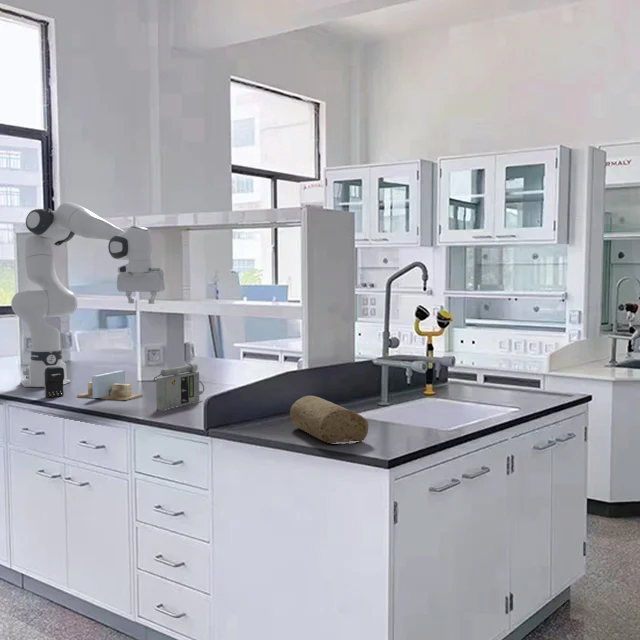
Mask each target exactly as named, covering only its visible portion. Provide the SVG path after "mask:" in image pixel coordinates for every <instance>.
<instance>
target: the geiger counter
mask: <svg viewBox="0 0 640 640" xmlns="http://www.w3.org/2000/svg"><path fill="white" fill-rule="evenodd" d="M198 369H199V366H198V364H197V363H194V362H193V363H188V364H187V365H182V366H181V365H180V366H177V367H171V368H164V369H161V371H160V373H159V374H158V375H156V376H154V378H153V382H155V384H156V385H155V386H156V388H155V389H156V410H157V409H158V410H157V411H160V410H164V411H166V410H165V409H168V408H172V407H176V406H180V407H183V406H182V405H184V406H187V405H186V404H188V405H191V404H190V403H192V404H196V403H199V402H200V395H202V394H204V391H205V386H204V384H203V382H202V381H200V372H199V371H198ZM200 385H201V386H202V390H200ZM198 401H199V402H198ZM195 402H196V403H195ZM176 408H177V407H176ZM172 409H173V408H172ZM168 410H169V409H168Z"/></svg>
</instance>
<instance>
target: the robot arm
mask: <svg viewBox="0 0 640 640" xmlns="http://www.w3.org/2000/svg"><path fill="white" fill-rule="evenodd" d="M25 226H26V229H27V230H28V231H29V232H30V233H32V234H29V235H28V236H27V237H26V239H25V241H24V243H25V244H24V260H25V268H26V276H27V278H28V280H29V281H30V282H31V283H33V284H35V285H38V286H39V287H40V288H41V290H39V289H38V290H24V291H19V292H16V293H15V294H14V295H13V297H12V299H11V302H10V303H11V309H12V312H13V313H14V314H15V315H16V316H17V317H19V318H20V319H21V320H22V321H23V322H25V324H26V326H27V327H28V329H29V332H30V338H31V340H30V341H31V352H30V361H29V364H28V365H27V366H26V368H25V369H23V370H22V374H23V376H25V379H24V378H23V379H21V380H20V383H21V385H22V386H23V387H24V388H28V387H29V388H32V387H33V388H34V387H35V388H45V387H44V369H45V368H46V367H50V366H60V367H62V368H63V369H64V380H63V386H64V385H65V384H69V383H71V379H68V377H67V363H65V362H64V361H63V360H62V359H63V352H62V349H61V332H60V330H59V329H58V328H57V327H55V326H53V325H50V324H49V323H47V322H46V318H51V317H52V318H53V317H55V318H56V317H65V316H66V317H67V316H69V315H73V314H74V313H75V311H76V310H77V308H78V304H79V303H78V298H77V296H76V294H74V292H73V291H71V290H69V289H68V288H67V287H65V286H64V285H63V284H62V282H61V280H60V279H59V276H58V275H57V270H56V267H55V260H54V254H53V246H54V245H55V246H56V247H57V246H61V245H62V244H65V243H66V242H67V243H68V242H69V241H71V240H72V239H73V237H74V236H75V235H77V236H79V237H82V238H85V239H93V240H94V239H95V240H96V239H97V240H107V241H109V242H108V246H107V247H108V253H109V255H110V256H111V257H112V258H113V259H115V260H119V261H120V260H121V261H122V260H123V261H128V263H126V264H124V265H120V266H118V267H117V272H118V274H117V276H116V277H117V278H116V289H117V290H118V292H123V293H124V292H125V297H126V299H127V300H128V301H127V302H128V304H134V303H135V298H133V297H132V294H133V292H134V293H139V292H140V293H150V295H151V296H150V298H148V300H147V301H148V304H149V305H154V304H155V299H156V297H157V293H162V292H164V291H165V289H166V285H165V284H166V283H165V278H164V277H165V276H164V275H165V274H164V271H163V269H161V268H160V267H157V268H156V267H153V259H152V258H153V257H152V250H153V249H152V247H153V243H152V235H151V231H150V228H148V227H145V226H138V225H132V226H129V228H128V229H127V230H124V229H123V228H121V227H118V226H117V225H115V224H113V223H111V222H109V221H108V220H105V219H104V218H102V217H100V216H99V215H97V214H96V213H94V212H93V211H90V210H89V209H88V208H86V207H84V206H82V205H79V204H77V203H76V202H75V203H74V202H71V201H65V202H63V203H61V204H59V206H58V207H57V208H56V210H52V209H51V208H49V207H48V208H36V209H32V210H31V211H29V212H28V213H27V216H26V218H25Z"/></svg>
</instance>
